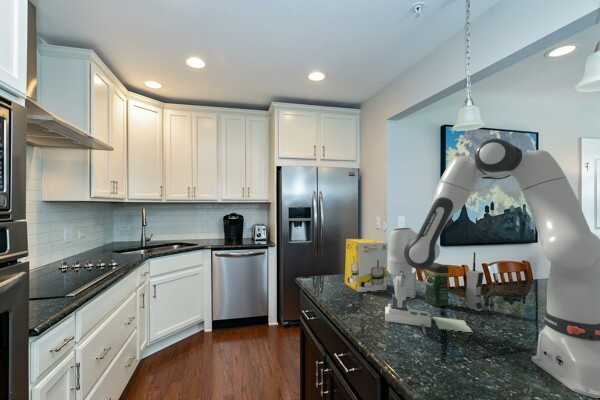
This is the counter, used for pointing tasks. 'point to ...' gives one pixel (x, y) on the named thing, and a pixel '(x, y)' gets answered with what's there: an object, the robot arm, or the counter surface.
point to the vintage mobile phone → (474, 288)
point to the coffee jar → (437, 284)
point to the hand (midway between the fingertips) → (399, 304)
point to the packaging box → (366, 264)
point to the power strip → (408, 317)
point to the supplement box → (411, 285)
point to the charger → (394, 303)
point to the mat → (452, 324)
